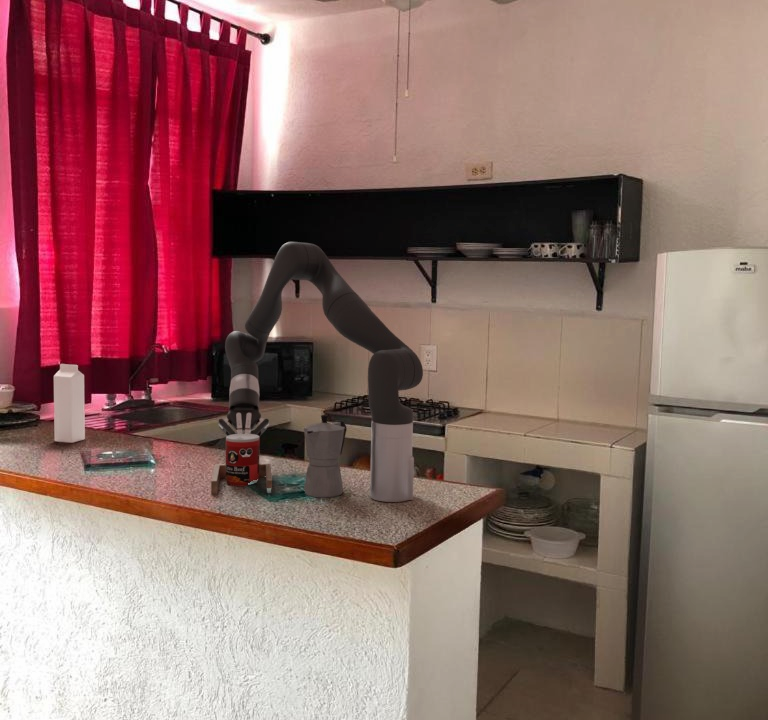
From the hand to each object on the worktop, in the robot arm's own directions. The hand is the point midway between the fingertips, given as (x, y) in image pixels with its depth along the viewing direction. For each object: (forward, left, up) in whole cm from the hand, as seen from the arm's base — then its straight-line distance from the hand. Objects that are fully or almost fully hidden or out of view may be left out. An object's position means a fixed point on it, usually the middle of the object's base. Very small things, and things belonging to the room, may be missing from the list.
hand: (243, 453), depth 210 cm
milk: (+50, -47, -6) cm, 69 cm away
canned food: (0, +6, -6) cm, 8 cm away
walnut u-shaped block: (0, +9, -6) cm, 10 cm away
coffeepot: (-19, +16, -6) cm, 25 cm away
